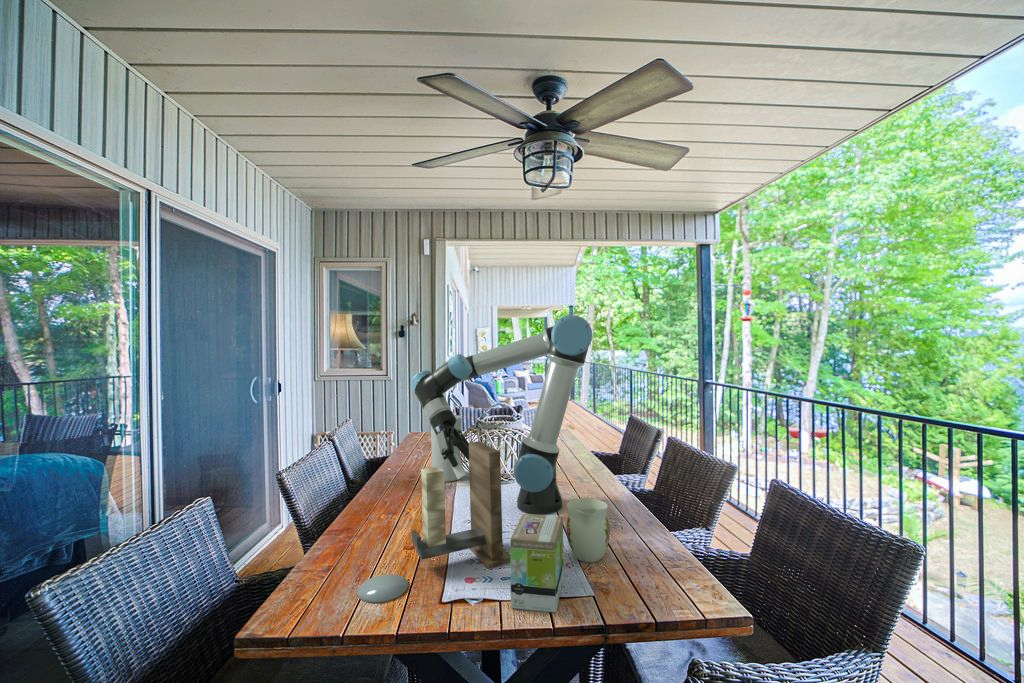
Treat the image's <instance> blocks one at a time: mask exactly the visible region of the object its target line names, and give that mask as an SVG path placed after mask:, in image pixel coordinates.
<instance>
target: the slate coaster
mask: <svg viewBox="0 0 1024 683" xmlns="http://www.w3.org/2000/svg"><path fill="white" fill-rule="evenodd" d="M408 583H409V582H408V580H407V578H406V577H404V576H402V575H399V574H392V573H388V574H381V575H377V576H373V577H370V578H369V579H366V580H365V581H363V582H362V583H361V584H360V585H359V586H358V588H357V597H358V598H359V600H361V601H363V602H366V603H371V604H379V603H385V602H390V601H392V600H396V599H398V598H399V597H401V596H402V595H403V594H405V592H406V591H407V590H408V586H409V584H408Z"/></svg>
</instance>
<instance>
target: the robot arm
mask: <svg viewBox="0 0 1024 683" xmlns="http://www.w3.org/2000/svg"><path fill="white" fill-rule="evenodd" d="M592 340H593V329H592V328H591V325H590V323H589V322H588V321H587V320H586V319H585V318H584V317H582V316H578V315H575V314H574V315H573V314H568V315H564V316H563V317H562V316H561V317H560V318H559V319H558V320H557V321H556V322H555V323H554V325H552V326H550V327H546V328H544V330H543V332H542V333H541V332H540V333H538V334H535V335H532V336H529V337H525V338H522V339H518V340H516V341H513V342H510V343H506V344H503V345H500V346H497V347H494V348H491V349H488V350H485V351H482V352H479V353H475V354H471V355H468V356H464V355H463V354H461V353H458V354H456V355H454V356H452V357H450V358H448V359H449V360H447V361H445V362H444V363H443V364H442V365H441V366H439V367H438V368H437V369H435V370H434V371H430V370H421V372H416V374H415V375H414V376H413V377H412V378H411V382H410V383H411V386H412V389H413V392H414V394H415V396H416V398H417V399H418V401H419V403H420V405H421V408H422V409H423V412H424V413H425V415H424V416H425V418H427V419H428V421H429V423H430V427H431V426H432V428H433V430H434V431H435V434H436V436H437V440H438V444H439V448H440V452H441V455H442V456H443V459H444V460H446V459H447V458H448V461H449V463H450V465H451V467H452V469H453V471H454V473H455V475H456V477H457V479H459V480H460V479H462V478H463V477H465V476H466V475H467V471H466V470H465V468H464V466H463V463H462V464H461V462H460V460H459V458H458V456H457V454H454V446H456V447H457V448H458V449H459V450H460V451H461V453H462V456H464V458H465V459H466V460H467V464H468V465H469V443H470V442H469V441H468V439H467V438H466V437H465V436H464V434H463V431H462V432H461V430H457V429H455V427H454V425H455V423H456V418H455V416H454V415H455V414H454V412H453V411H452V410H451V409H452V408H451V407H450V405H449V403H448V401H447V399H446V397H445V395H444V394H445V393H446V392H448V390H451V389H452V388H454V387H455V386H456V385H457V384H459V383H461V382H464V381H465V382H466V381H469V380H472V379H475V378H478V377H480V376H483V375H486V374H490V373H493V372H497V371H500V370H503V369H506V368H509V367H513V366H515V365H519V364H523V363H525V362H530V361H532V360H536V359H539V358H542V357H545V356H547V357H548V360H549V364H548V368H547V371H546V374H545V378H544V382H543V385H542V389H541V392H540V395H539V399H538V402H537V407H536V410H535V414H534V418H533V420H532V424H531V425H532V426H531V428H530V431H529V432H530V433H529V435H528V436H527V437H523V438H522V439H521V441H520V445H519V446H520V449H519V454H518V457H517V460H516V461H515V463H514V466H513V475H514V479H515V482H516V483H517V484H518V486H519V487H520V488H519V492H518V496H517V498H516V499H517V500H516V501H517V502H516V506H517V508H518V510H519V511H521V512H523V513H525V514H535V515H548V514H552V513H555V512H558V511H560V510H561V509H562V508H563V498H562V494H561V493H560V489H559V486H558V483H557V462H558V457H559V453H560V450H561V449H560V448H559V446H558V445H557V443H558V440H559V436H560V433H561V432H560V431H561V428H562V424H563V421H564V418H565V415H566V410H567V408H568V403H569V401H570V400H569V399H570V396H571V393H572V390H573V385H574V382H575V378H576V375H577V371H578V369H579V368H580V367H582V366H584V365H585V362H586V358H587V354H588V351H589V348H590V345H591V344H592ZM453 454H454V455H453Z"/></svg>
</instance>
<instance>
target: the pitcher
mask: <svg viewBox="0 0 1024 683" xmlns="http://www.w3.org/2000/svg"><path fill="white" fill-rule="evenodd" d="M608 505H609V504H608V503H607V502H605V501H604V500H601V499H596V498H589V497H587V498H586V497H585V498H584V497H583V498H582V497H581V498H575V499H572V500H569V501H568V502H567V504H566V507H567V510H568V511H567V512H568V516H567V520H566V527H565V528H566V529H565V530H566V537H567V542H568V545H569V548H570V550H571V552H572V554H573V555H574V556H575V558H576V559H577V560H579V561H582V562H585V563H596V562H599V561H601V560H602V558H603V557H604V555H605V554H606V552H607V550H608V547H609V543H610V537H611V536H610V534H611V530H610V527H611V526H610V522H609V519H608V516H607V513H608V508H609V506H608Z"/></svg>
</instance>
